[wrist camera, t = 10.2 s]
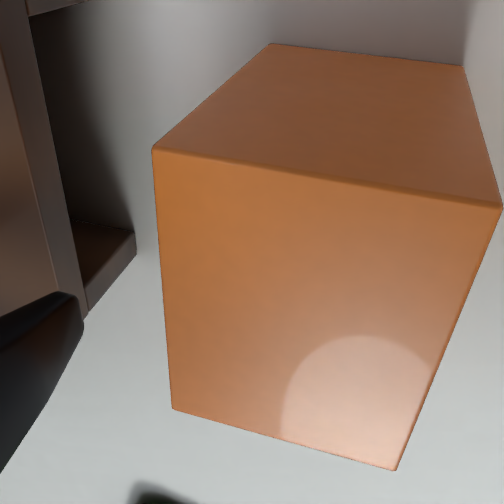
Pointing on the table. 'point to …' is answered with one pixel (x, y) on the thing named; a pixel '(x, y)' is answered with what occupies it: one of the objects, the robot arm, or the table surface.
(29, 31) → the shelf
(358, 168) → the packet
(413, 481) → the table surface
